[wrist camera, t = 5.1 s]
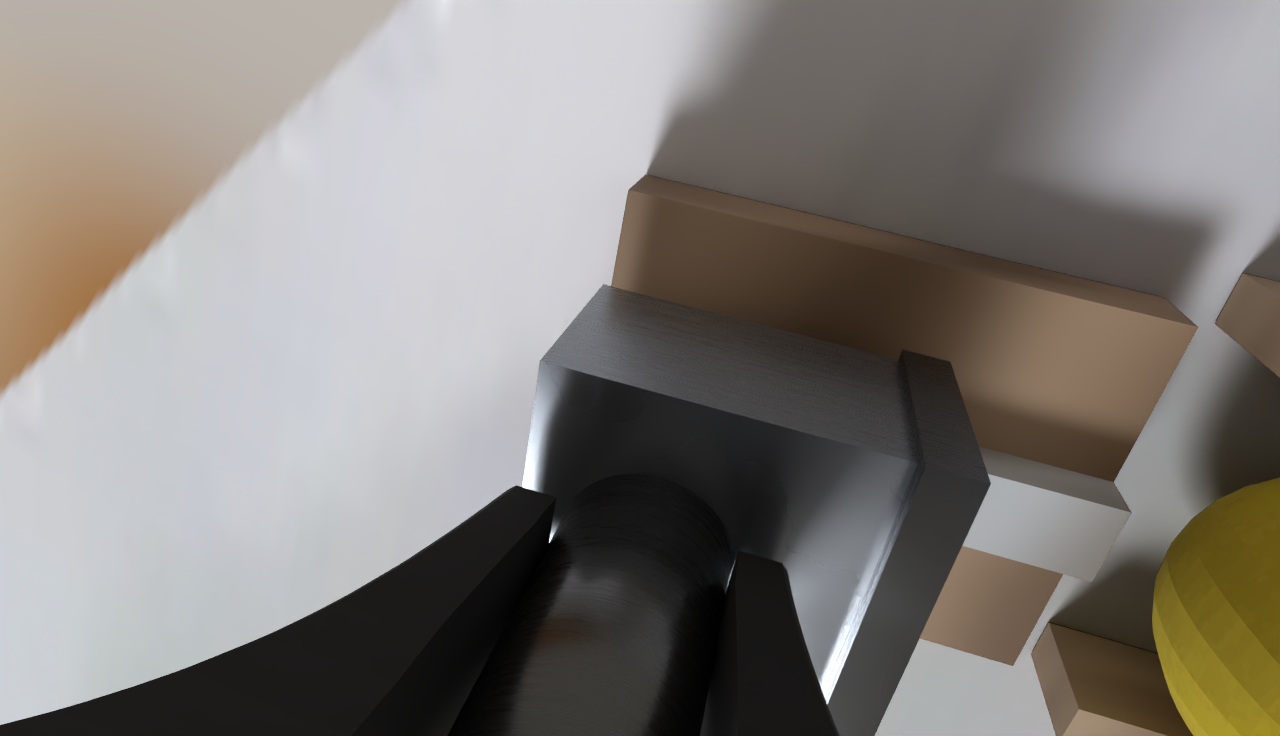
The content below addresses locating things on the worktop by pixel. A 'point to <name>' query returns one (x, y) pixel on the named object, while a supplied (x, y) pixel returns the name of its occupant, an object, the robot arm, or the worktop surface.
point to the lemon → (1224, 615)
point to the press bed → (981, 360)
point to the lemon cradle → (1114, 672)
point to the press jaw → (723, 516)
